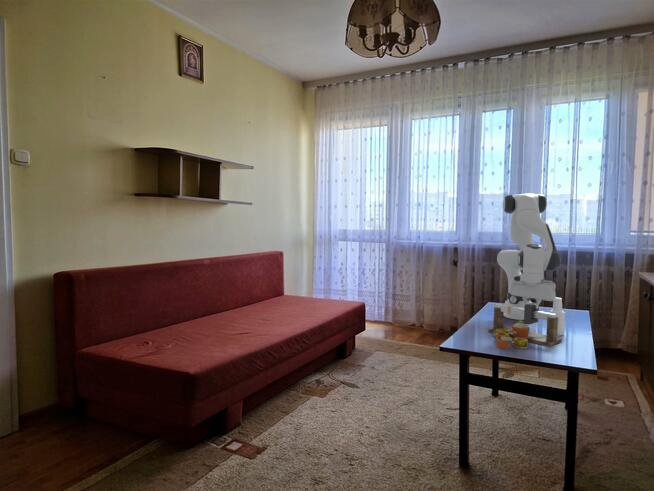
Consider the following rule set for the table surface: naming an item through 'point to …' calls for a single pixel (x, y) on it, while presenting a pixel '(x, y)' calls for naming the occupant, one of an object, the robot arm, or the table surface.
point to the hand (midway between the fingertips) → (531, 307)
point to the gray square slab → (529, 314)
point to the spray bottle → (559, 315)
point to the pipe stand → (537, 338)
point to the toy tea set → (518, 335)
